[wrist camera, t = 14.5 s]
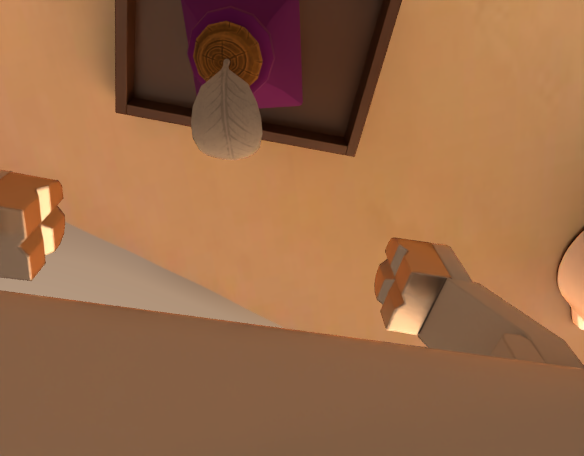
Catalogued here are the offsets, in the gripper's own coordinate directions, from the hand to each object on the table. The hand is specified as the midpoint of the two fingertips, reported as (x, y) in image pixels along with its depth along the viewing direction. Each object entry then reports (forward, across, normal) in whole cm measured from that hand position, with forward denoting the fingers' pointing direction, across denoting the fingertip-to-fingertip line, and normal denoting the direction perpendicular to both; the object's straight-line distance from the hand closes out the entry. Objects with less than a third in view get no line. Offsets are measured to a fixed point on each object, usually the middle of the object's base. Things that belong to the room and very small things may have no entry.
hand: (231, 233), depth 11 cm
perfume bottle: (+25, +1, -1) cm, 25 cm away
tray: (+25, +1, -1) cm, 25 cm away
